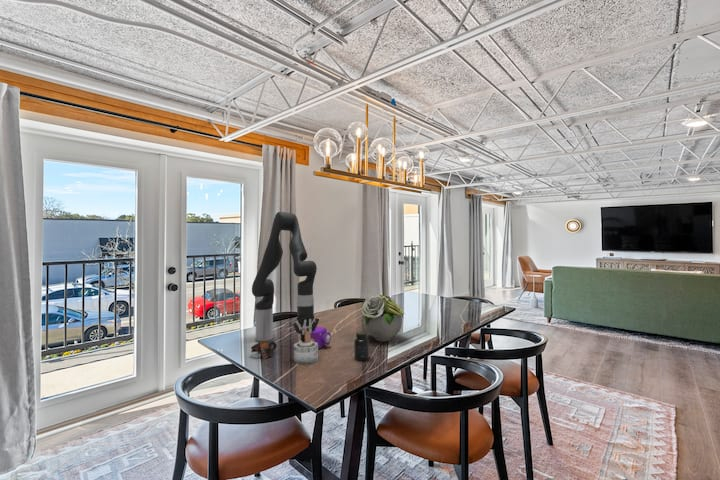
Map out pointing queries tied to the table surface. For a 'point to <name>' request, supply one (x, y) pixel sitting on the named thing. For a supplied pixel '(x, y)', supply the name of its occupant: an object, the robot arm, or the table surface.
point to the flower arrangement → (382, 317)
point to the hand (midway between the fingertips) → (305, 341)
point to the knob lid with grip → (306, 340)
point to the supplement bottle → (361, 346)
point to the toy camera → (321, 336)
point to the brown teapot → (264, 346)
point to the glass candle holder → (305, 353)
